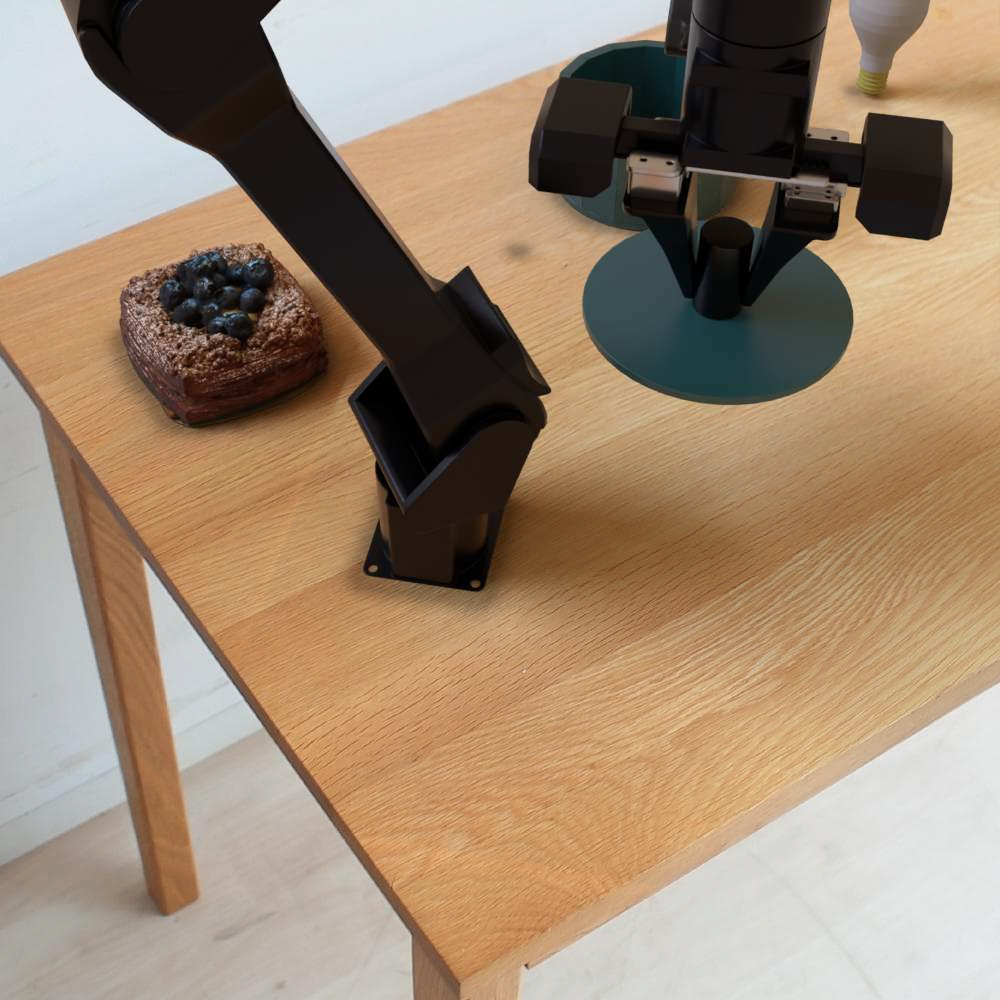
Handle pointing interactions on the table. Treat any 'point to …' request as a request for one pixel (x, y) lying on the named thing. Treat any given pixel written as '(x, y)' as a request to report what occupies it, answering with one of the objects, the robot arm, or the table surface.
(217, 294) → the pastry
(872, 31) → the light bulb
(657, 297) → the lid
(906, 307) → the table surface
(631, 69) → the pot
